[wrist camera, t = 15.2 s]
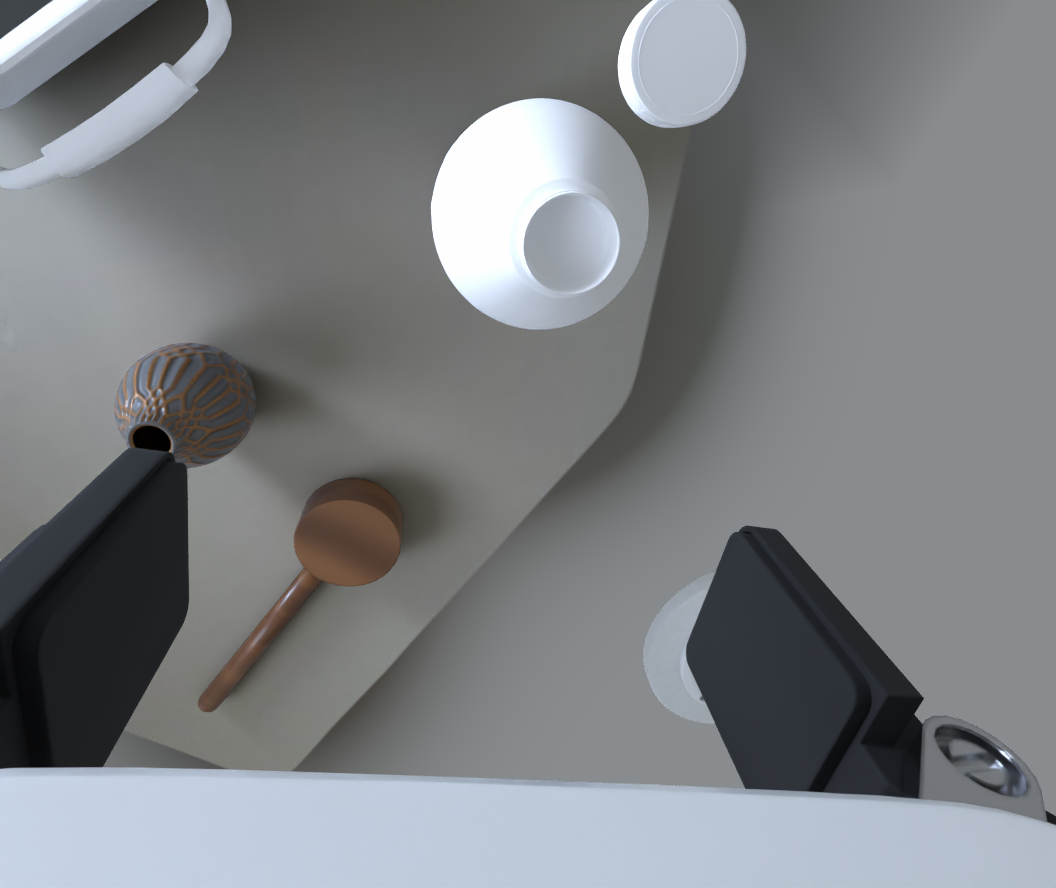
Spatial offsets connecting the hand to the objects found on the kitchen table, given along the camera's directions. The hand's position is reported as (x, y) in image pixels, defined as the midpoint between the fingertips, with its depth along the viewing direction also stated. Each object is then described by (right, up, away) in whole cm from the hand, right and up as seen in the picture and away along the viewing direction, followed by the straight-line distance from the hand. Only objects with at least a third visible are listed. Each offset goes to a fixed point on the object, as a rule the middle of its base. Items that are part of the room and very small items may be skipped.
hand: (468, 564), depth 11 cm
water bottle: (0, +18, +25) cm, 31 cm away
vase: (-19, +6, +29) cm, 35 cm away
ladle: (-17, -9, +36) cm, 41 cm away
